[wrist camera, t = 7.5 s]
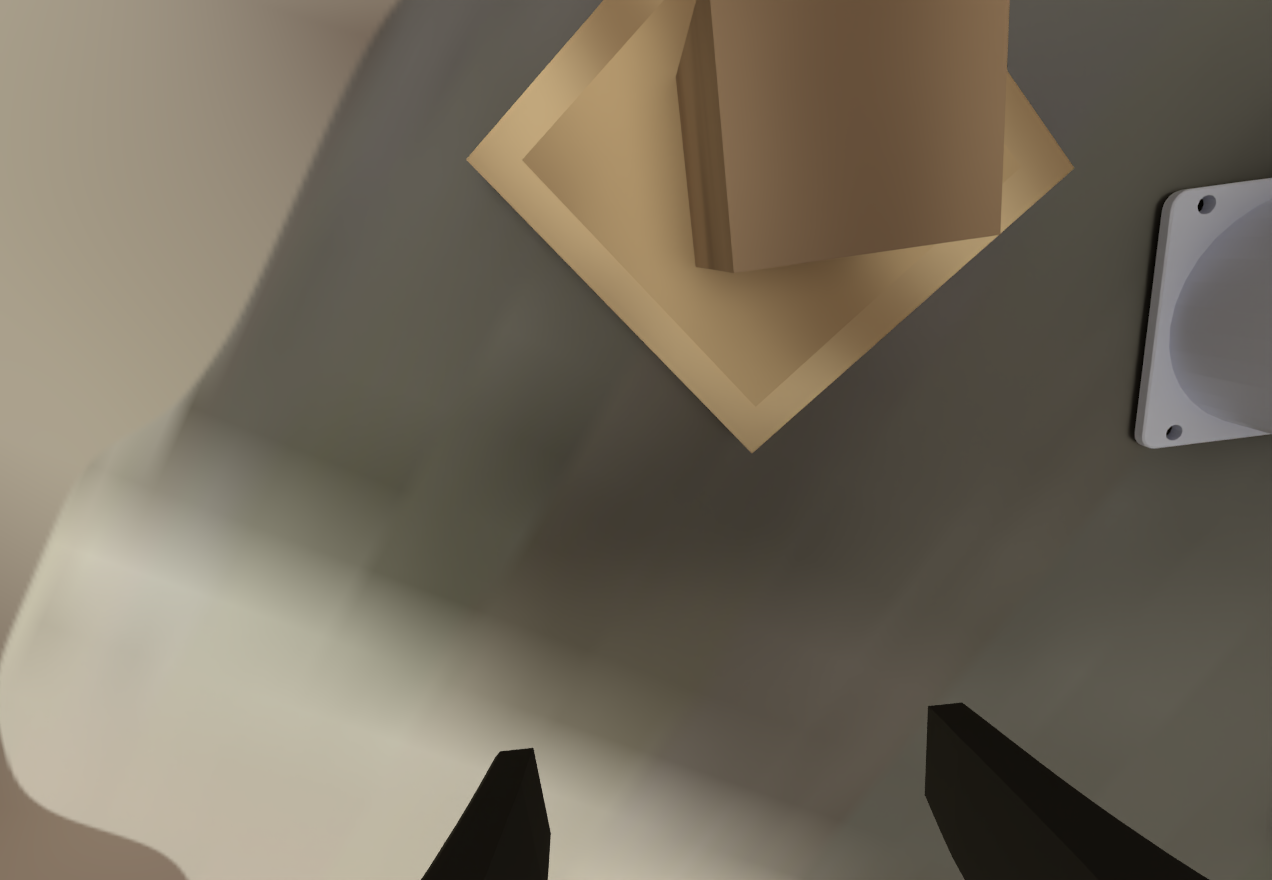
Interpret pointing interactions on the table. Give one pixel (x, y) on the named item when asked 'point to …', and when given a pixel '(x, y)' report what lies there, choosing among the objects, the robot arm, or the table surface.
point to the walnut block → (841, 127)
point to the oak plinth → (662, 234)
